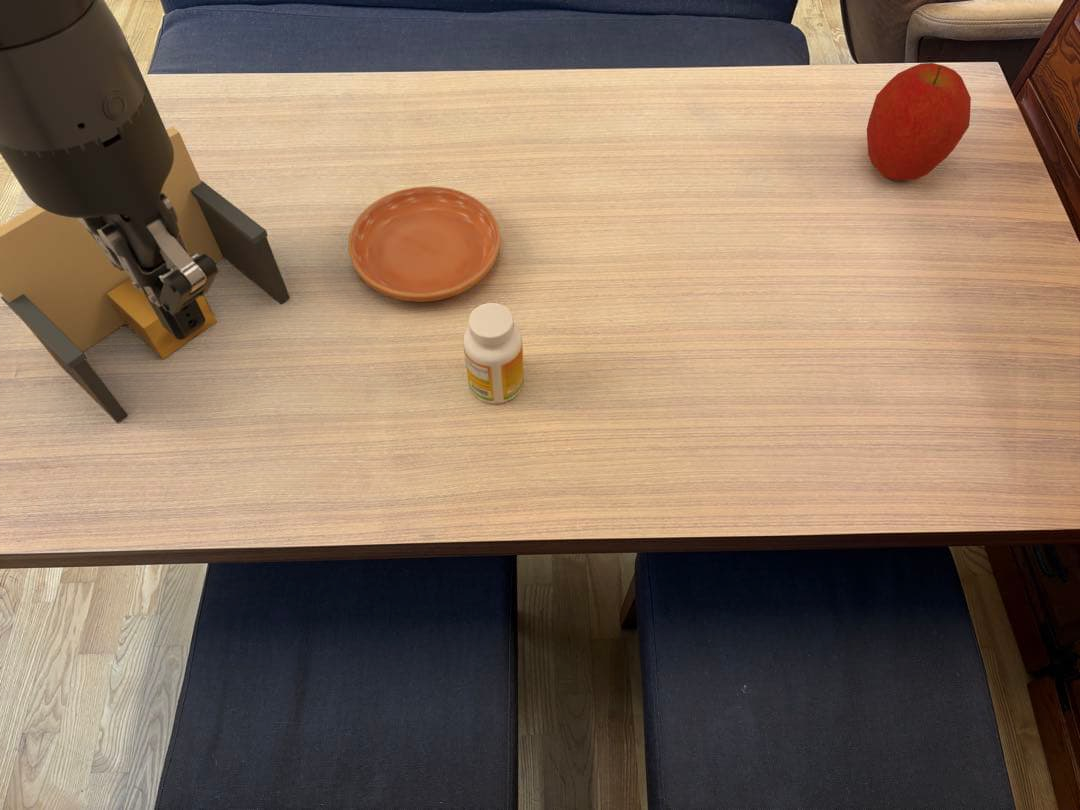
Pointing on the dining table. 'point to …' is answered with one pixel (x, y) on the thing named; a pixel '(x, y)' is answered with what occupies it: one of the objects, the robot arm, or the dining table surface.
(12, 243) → the small wooden bench
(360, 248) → the saucer
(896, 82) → the apple
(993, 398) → the dining table surface
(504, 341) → the supplement bottle
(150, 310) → the box
